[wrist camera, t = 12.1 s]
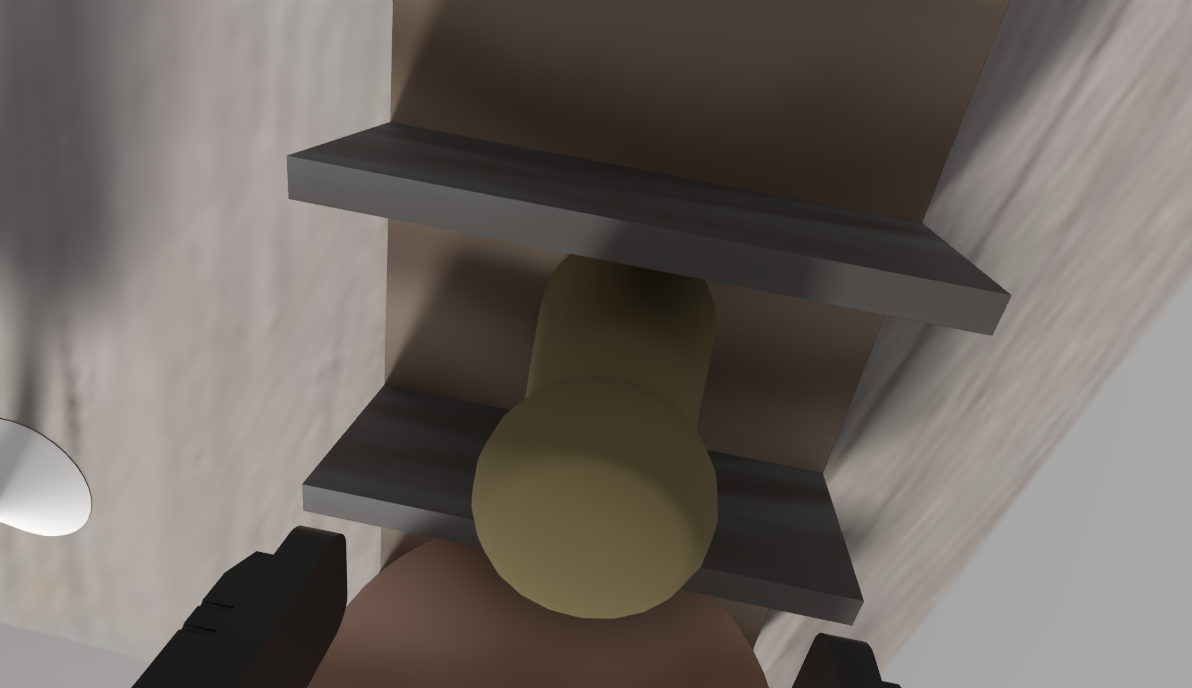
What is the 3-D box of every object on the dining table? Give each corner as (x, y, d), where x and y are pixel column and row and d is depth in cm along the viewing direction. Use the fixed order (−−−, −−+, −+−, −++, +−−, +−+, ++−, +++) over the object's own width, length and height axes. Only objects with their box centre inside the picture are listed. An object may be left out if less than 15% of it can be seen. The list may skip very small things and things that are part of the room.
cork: (659, 202, 20) (641, 363, 11) (748, 354, 22) (801, 612, 13) (504, 291, 22) (367, 499, 13) (597, 425, 24) (542, 697, 14)
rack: (414, -275, 17) (-606, -1437, 3) (1057, -164, 16) (2760, -1031, 3) (389, 573, 30) (156, 1010, 17) (743, 648, 30) (796, 1160, 16)
